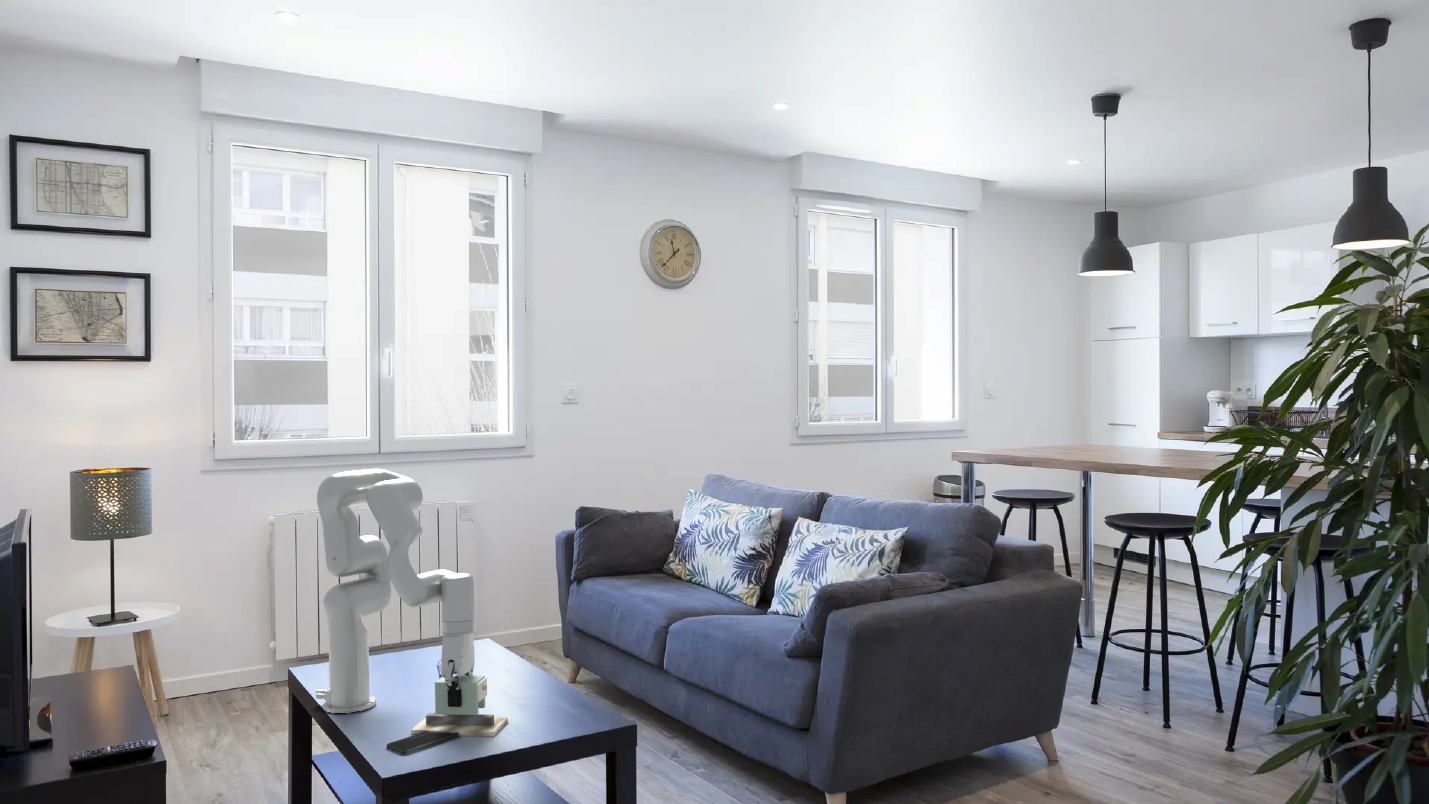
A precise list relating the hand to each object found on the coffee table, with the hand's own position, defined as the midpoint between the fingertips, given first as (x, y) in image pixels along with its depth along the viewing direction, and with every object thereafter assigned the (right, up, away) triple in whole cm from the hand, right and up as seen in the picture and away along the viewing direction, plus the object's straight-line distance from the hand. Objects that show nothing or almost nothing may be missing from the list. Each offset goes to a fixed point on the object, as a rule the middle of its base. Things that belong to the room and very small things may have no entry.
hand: (460, 701), depth 237 cm
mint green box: (0, -2, 0) cm, 2 cm away
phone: (-6, -7, -9) cm, 13 cm away
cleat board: (0, -6, 0) cm, 6 cm away
